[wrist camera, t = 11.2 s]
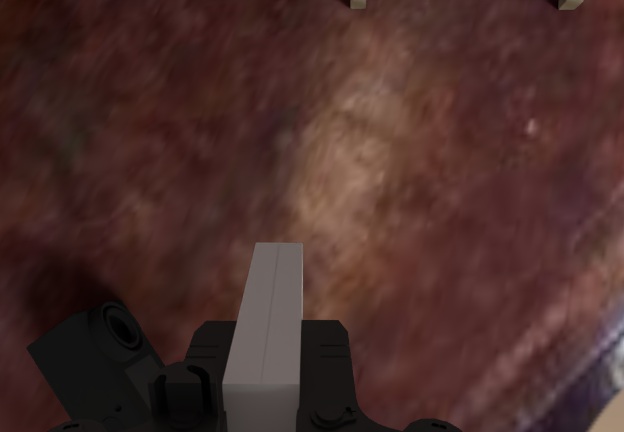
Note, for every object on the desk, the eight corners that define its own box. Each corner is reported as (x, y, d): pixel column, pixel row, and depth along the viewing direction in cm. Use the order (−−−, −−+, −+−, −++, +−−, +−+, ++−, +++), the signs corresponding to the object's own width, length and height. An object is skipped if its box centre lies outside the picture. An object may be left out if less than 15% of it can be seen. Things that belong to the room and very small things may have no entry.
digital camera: (203, 396, 39) (171, 432, 32) (149, 433, 39) (106, 477, 32) (132, 290, 40) (86, 302, 33) (80, 327, 40) (24, 348, 33)
